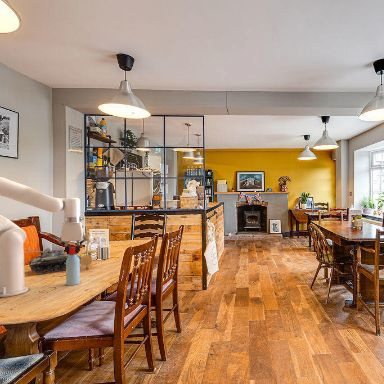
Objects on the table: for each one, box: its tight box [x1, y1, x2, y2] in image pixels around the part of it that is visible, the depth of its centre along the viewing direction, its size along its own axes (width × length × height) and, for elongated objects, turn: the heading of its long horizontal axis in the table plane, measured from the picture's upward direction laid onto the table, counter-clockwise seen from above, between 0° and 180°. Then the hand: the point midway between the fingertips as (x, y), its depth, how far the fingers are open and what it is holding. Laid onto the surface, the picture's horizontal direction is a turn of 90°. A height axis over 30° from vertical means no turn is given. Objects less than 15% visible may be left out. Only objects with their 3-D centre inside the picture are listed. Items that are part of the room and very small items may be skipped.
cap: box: [69, 246, 78, 255], centre depth 157 cm, size 4×4×4 cm
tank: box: [25, 247, 83, 275], centre depth 185 cm, size 16×31×15 cm, turn 132°
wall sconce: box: [80, 230, 98, 270], centre depth 187 cm, size 14×10×25 cm
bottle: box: [65, 253, 81, 286], centre depth 157 cm, size 6×6×20 cm
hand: (72, 252), depth 157 cm, fingers closed on cap, 3 cm apart
